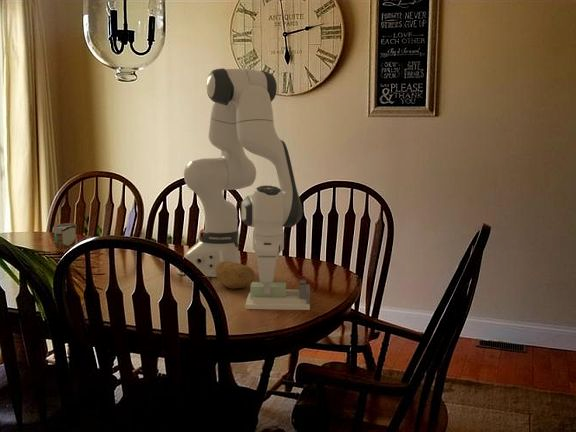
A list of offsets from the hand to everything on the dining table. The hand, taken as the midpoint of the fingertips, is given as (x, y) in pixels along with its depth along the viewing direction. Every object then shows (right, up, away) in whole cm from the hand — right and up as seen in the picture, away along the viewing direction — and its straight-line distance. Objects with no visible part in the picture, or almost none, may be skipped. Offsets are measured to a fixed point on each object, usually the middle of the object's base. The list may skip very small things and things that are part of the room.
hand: (268, 290), depth 175 cm
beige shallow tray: (+3, -4, 0) cm, 5 cm away
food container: (-83, +8, +65) cm, 106 cm away
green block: (0, -2, 0) cm, 2 cm away
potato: (-11, -1, +16) cm, 19 cm away
